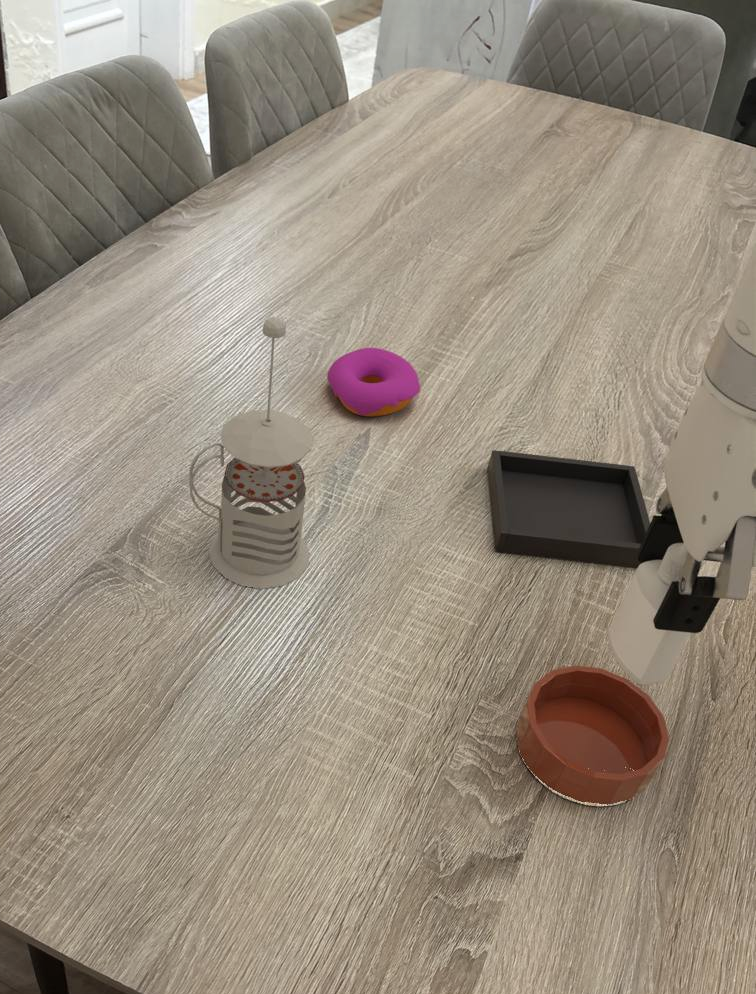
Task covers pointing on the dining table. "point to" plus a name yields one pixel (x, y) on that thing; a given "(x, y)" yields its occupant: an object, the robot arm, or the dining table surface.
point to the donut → (373, 381)
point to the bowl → (591, 735)
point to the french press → (261, 493)
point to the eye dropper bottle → (648, 621)
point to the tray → (566, 508)
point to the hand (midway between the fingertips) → (667, 592)
